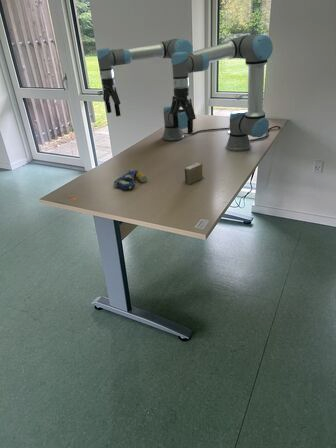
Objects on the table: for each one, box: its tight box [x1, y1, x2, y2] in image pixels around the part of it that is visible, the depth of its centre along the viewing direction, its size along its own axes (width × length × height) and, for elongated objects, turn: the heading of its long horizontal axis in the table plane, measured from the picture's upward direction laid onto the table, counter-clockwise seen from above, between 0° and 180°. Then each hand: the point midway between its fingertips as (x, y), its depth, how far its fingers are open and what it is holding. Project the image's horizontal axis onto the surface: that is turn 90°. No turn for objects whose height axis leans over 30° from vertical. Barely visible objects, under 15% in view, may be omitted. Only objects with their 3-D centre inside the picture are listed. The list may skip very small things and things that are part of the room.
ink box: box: [184, 162, 203, 185], centre depth 178 cm, size 10×4×8 cm, turn 132°
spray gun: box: [112, 168, 148, 191], centre depth 183 cm, size 21×4×15 cm
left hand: (113, 114), depth 210 cm, fingers open, 13 cm apart
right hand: (183, 130), depth 176 cm, fingers open, 13 cm apart
